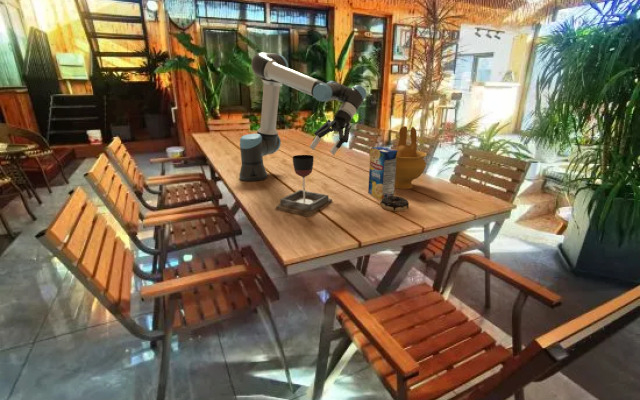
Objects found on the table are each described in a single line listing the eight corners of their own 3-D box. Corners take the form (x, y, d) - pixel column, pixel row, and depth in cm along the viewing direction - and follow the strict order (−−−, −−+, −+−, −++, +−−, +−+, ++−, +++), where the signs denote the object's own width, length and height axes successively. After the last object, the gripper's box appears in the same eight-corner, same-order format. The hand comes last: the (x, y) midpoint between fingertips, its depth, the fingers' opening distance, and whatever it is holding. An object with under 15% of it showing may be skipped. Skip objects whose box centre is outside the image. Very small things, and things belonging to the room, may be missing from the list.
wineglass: (294, 199, 148) (292, 155, 141) (313, 198, 148) (312, 154, 142) (294, 205, 140) (292, 159, 133) (314, 204, 141) (314, 158, 134)
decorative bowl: (373, 186, 170) (376, 126, 160) (394, 177, 185) (399, 122, 174) (410, 195, 157) (416, 131, 146) (430, 185, 171) (437, 126, 161)
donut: (388, 201, 149) (388, 192, 148) (412, 207, 143) (413, 198, 141) (376, 208, 141) (376, 199, 140) (401, 214, 134) (402, 205, 133)
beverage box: (381, 199, 150) (385, 152, 143) (368, 193, 160) (370, 147, 152) (393, 197, 153) (397, 150, 146) (379, 191, 163) (382, 146, 155)
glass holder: (276, 209, 140) (275, 200, 138) (302, 195, 156) (302, 188, 155) (307, 216, 132) (307, 207, 131) (332, 201, 148) (332, 193, 147)
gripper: (369, 122, 150) (345, 160, 145) (330, 117, 167) (307, 151, 162) (362, 111, 144) (337, 150, 140) (322, 107, 161) (299, 141, 157)
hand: (321, 150), depth 151 cm, fingers open, 13 cm apart
